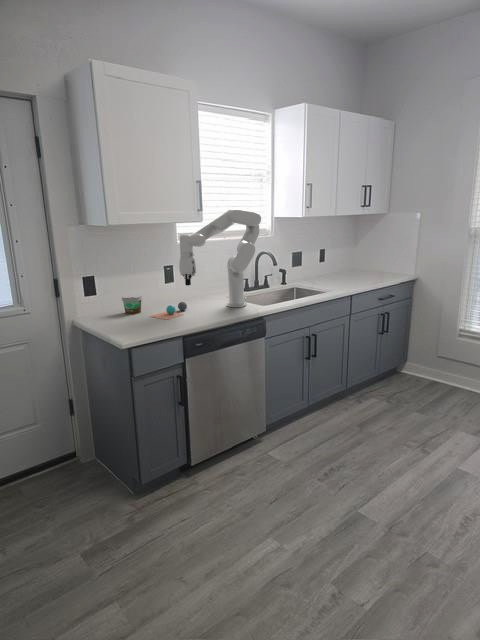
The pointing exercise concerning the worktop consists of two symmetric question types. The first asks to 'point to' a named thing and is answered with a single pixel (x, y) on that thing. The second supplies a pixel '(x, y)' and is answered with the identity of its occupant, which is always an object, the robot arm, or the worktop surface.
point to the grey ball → (182, 306)
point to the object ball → (170, 309)
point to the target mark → (166, 315)
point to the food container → (132, 305)
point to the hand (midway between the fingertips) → (188, 285)
